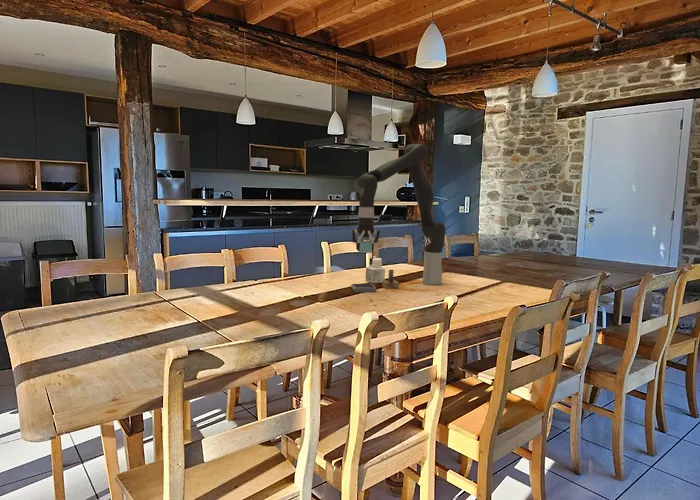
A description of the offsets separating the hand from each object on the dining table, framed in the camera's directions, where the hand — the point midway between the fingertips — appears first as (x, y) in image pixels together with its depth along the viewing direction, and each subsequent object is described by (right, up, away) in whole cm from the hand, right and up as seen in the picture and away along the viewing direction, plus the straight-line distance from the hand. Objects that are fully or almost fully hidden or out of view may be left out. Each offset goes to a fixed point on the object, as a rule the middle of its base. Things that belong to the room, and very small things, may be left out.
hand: (364, 250), depth 234 cm
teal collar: (0, -1, 0) cm, 1 cm away
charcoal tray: (-1, -19, +3) cm, 19 cm away
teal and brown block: (+13, -19, +10) cm, 25 cm away
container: (+6, -17, +24) cm, 30 cm away
